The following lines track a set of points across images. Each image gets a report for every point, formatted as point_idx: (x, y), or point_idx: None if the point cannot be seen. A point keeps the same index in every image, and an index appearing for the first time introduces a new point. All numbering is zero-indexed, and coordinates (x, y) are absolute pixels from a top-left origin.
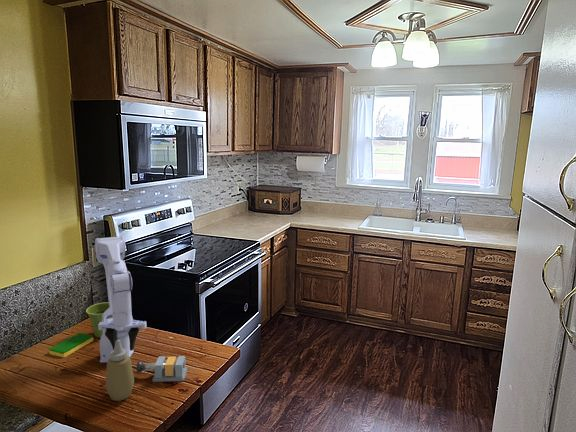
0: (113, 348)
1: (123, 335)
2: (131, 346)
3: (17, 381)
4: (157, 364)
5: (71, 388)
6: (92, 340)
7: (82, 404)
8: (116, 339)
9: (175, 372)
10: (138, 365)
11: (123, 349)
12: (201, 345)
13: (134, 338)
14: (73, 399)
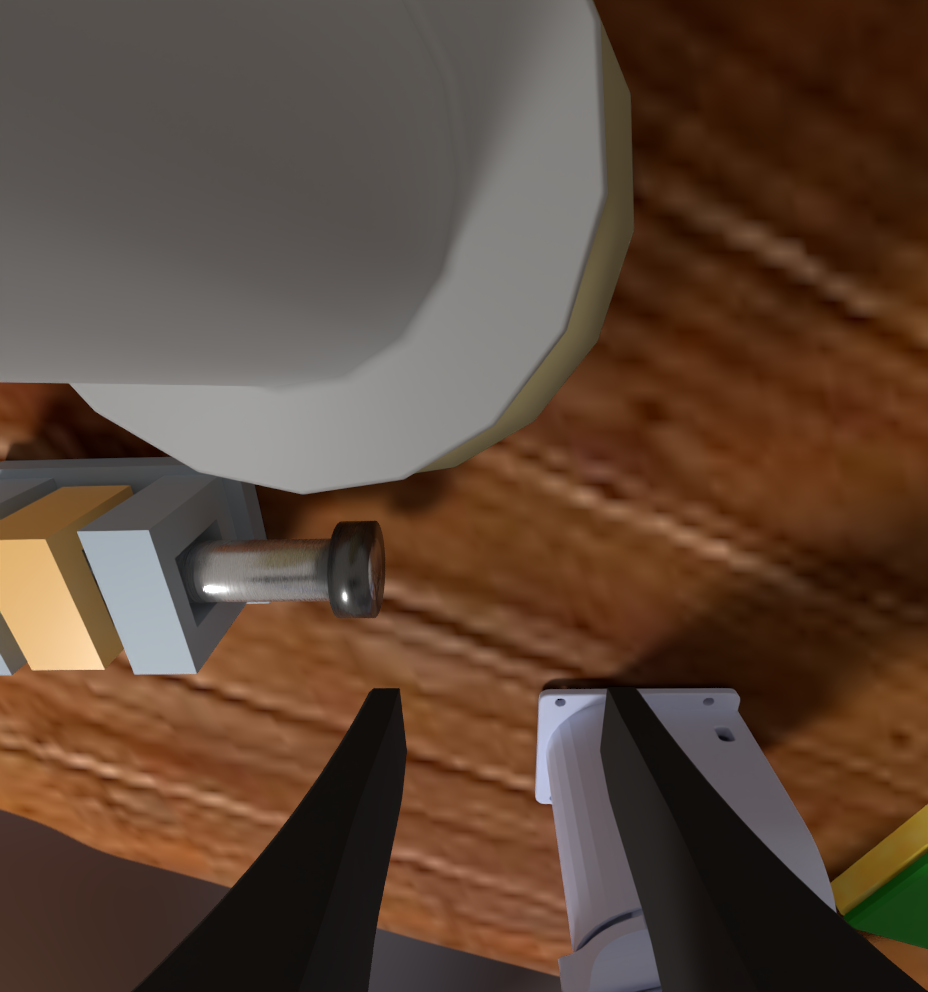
0: (646, 714)
1: (612, 942)
2: (354, 738)
3: None
4: (127, 546)
5: (900, 374)
6: (833, 887)
7: (756, 101)
8: (649, 892)
9: (11, 497)
10: (347, 559)
11: (177, 414)
12: (126, 827)
13: (222, 908)
14: (859, 195)
